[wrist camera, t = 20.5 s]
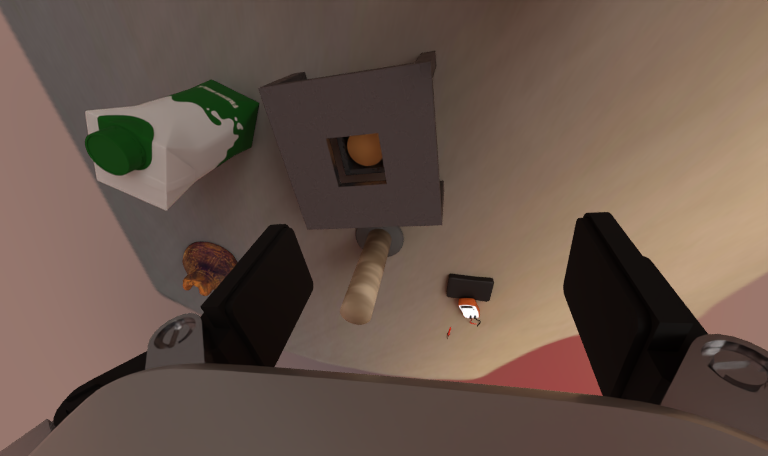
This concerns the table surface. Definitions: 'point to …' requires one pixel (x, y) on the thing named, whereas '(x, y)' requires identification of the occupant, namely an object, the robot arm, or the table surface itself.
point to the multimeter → (469, 293)
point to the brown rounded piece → (206, 266)
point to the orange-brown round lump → (365, 149)
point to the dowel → (366, 278)
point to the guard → (359, 117)
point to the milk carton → (169, 140)
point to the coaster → (393, 231)
